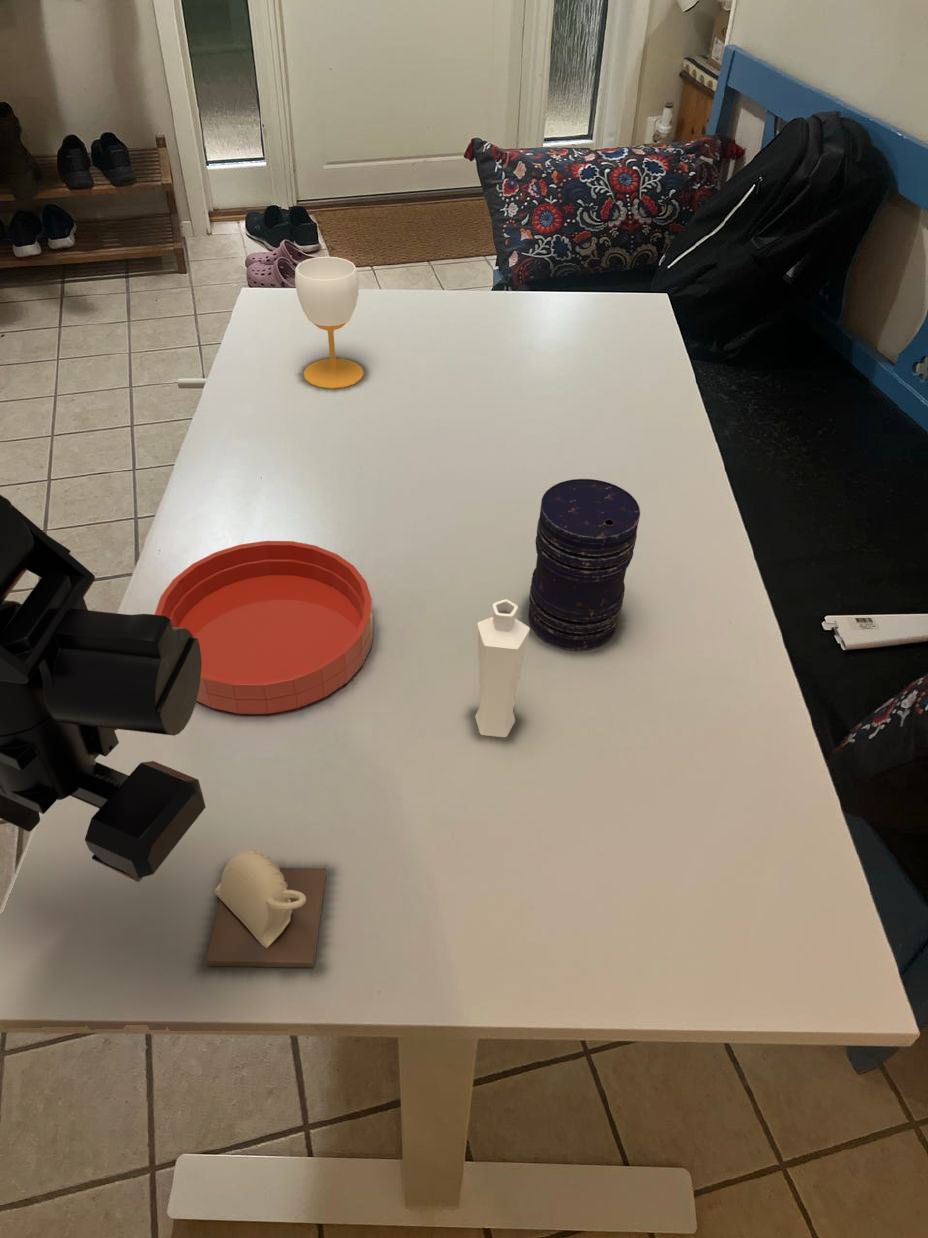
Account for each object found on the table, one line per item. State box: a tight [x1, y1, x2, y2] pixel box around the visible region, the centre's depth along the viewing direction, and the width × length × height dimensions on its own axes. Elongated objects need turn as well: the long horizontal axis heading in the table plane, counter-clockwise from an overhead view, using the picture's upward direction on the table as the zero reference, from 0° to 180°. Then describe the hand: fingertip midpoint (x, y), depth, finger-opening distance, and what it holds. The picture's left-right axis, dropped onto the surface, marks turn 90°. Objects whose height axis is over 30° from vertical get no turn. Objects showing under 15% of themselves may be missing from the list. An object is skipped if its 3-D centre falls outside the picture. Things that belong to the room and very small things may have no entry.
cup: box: [294, 256, 365, 390], centre depth 129 cm, size 9×9×16 cm
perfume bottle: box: [475, 598, 531, 738], centre depth 80 cm, size 5×4×15 cm
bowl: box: [154, 540, 374, 715], centre depth 91 cm, size 21×21×4 cm
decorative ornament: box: [214, 849, 306, 948], centre depth 68 cm, size 4×8×5 cm, turn 44°
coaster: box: [205, 867, 327, 968], centre depth 70 cm, size 8×8×1 cm
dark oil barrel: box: [527, 478, 641, 651], centre depth 91 cm, size 10×10×15 cm
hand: (86, 850), depth 60 cm, fingers open, 9 cm apart
